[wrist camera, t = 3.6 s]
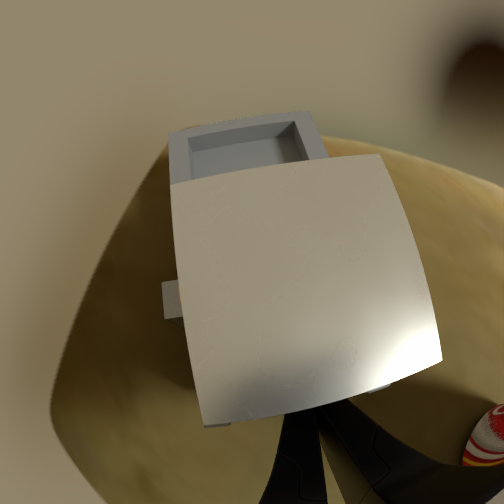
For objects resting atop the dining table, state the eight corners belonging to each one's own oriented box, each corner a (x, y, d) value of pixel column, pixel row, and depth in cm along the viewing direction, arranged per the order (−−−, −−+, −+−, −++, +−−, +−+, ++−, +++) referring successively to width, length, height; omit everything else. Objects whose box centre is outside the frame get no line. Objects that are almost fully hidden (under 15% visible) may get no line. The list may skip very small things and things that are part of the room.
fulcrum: (362, 301, 17) (384, 284, 14) (186, 336, 17) (165, 328, 13) (350, 259, 18) (367, 234, 15) (180, 292, 18) (160, 273, 14)
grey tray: (372, 379, 13) (391, 385, 11) (213, 414, 13) (203, 428, 11) (304, 134, 18) (309, 109, 16) (177, 156, 18) (167, 132, 16)
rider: (336, 349, 13) (442, 360, 4) (239, 370, 13) (203, 424, 4) (315, 257, 15) (379, 153, 6) (222, 274, 14) (169, 184, 6)
